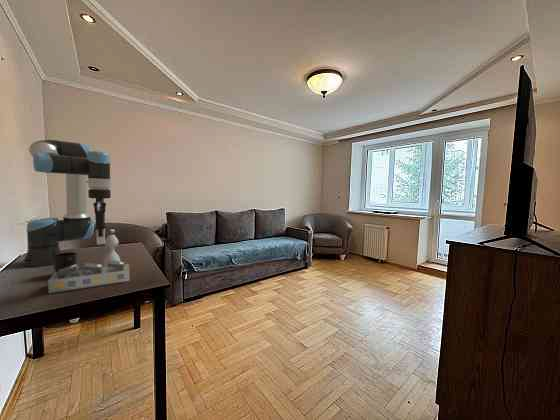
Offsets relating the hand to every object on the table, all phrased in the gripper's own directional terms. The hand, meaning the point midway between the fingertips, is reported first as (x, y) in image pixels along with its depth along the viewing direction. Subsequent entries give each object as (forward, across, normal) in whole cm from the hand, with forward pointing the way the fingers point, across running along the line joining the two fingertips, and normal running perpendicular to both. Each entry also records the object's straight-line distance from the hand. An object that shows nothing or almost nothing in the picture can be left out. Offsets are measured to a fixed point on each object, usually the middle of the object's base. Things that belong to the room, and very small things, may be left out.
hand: (101, 243), depth 101 cm
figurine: (+17, -20, +3) cm, 26 cm away
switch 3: (+10, 0, +5) cm, 11 cm away
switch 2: (+10, 0, -3) cm, 10 cm away
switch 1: (+10, 0, -11) cm, 15 cm away
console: (+17, 0, -3) cm, 17 cm away
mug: (+17, -16, -14) cm, 27 cm away
